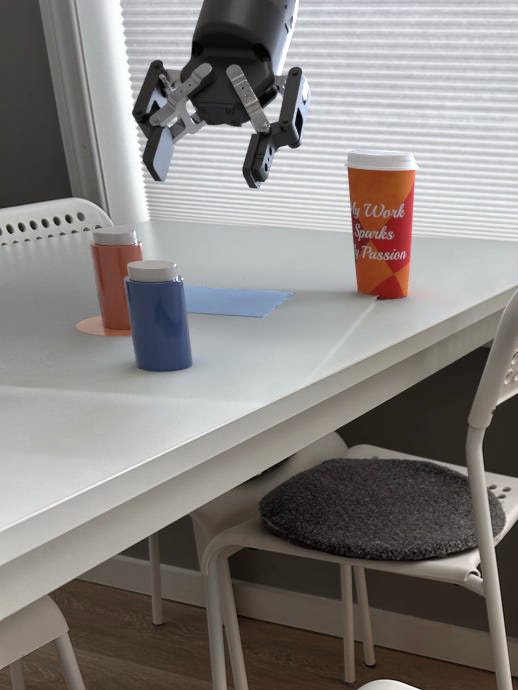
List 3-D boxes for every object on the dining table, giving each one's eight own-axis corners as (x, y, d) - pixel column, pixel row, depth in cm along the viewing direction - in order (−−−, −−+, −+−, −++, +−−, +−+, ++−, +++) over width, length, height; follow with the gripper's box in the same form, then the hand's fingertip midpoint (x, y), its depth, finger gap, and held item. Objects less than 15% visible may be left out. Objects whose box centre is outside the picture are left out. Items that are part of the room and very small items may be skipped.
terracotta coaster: (58, 337, 84) (57, 332, 84) (101, 315, 91) (100, 310, 91) (157, 343, 83) (157, 338, 83) (192, 320, 91) (192, 316, 91)
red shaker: (94, 328, 85) (78, 232, 81) (114, 317, 89) (100, 225, 85) (141, 331, 85) (128, 235, 81) (159, 320, 89) (147, 228, 85)
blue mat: (123, 312, 93) (122, 308, 92) (167, 288, 103) (167, 284, 103) (263, 321, 92) (263, 316, 92) (294, 296, 102) (294, 292, 102)
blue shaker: (127, 374, 75) (111, 267, 71) (149, 360, 79) (134, 257, 75) (182, 378, 75) (169, 271, 71) (200, 363, 78) (189, 260, 74)
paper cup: (336, 296, 103) (331, 152, 96) (364, 284, 109) (361, 147, 102) (403, 303, 101) (403, 157, 94) (428, 290, 107) (430, 152, 100)
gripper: (152, -23, 79) (100, 138, 76) (313, -18, 77) (267, 149, 73) (189, 53, 87) (143, 204, 83) (337, 59, 84) (297, 215, 81)
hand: (201, 178), depth 78 cm, fingers open, 8 cm apart
